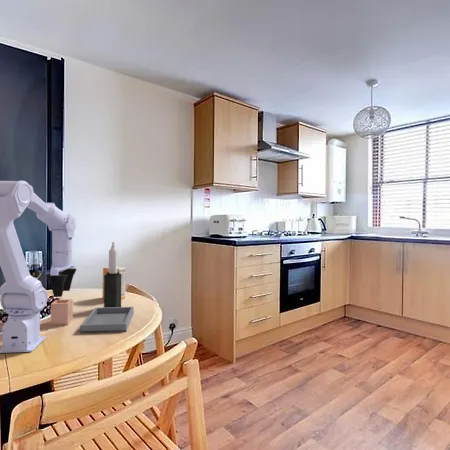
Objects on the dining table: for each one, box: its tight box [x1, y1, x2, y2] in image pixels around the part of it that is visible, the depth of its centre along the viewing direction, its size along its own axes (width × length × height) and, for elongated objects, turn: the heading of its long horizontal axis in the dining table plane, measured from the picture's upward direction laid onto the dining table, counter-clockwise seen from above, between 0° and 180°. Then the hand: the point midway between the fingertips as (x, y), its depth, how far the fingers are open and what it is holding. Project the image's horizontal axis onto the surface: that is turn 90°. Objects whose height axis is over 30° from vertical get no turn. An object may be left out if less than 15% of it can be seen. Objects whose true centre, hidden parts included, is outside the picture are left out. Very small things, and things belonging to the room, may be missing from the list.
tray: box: [80, 306, 135, 334], centre depth 106 cm, size 18×13×2 cm
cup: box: [50, 299, 74, 327], centre depth 105 cm, size 5×5×7 cm
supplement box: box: [102, 266, 127, 301], centre depth 135 cm, size 8×5×13 cm, turn 73°
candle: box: [103, 241, 122, 307], centre depth 121 cm, size 5×5×25 cm
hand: (62, 293), depth 104 cm, fingers open, 7 cm apart
